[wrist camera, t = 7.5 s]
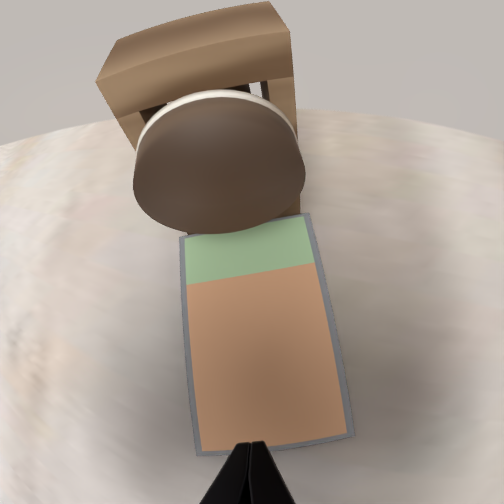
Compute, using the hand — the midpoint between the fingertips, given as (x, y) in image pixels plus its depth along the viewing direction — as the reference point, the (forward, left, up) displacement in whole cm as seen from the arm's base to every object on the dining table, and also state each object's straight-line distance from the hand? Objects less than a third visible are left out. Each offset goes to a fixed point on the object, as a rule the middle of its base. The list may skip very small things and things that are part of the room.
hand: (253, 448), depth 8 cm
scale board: (+4, +4, -7) cm, 8 cm away
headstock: (+10, +10, -7) cm, 15 cm away
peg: (+9, +9, -3) cm, 13 cm away
